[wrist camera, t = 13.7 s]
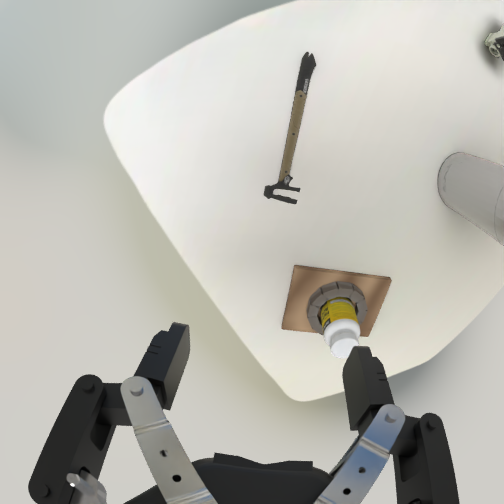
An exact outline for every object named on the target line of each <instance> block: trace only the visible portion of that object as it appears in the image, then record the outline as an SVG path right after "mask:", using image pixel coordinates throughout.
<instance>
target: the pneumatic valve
mask: <svg viewBox="0 0 504 504" xmlns="http://www.w3.org/2000/svg"><path fill="white" fill-rule="evenodd" d="M485 45H486V46H489V51H490V52H491V53H492V54H493V55H494V56H495V57H496V58H497V57H499V56H501V57H502V59H503V60H504V23H503V25H502V27H501V29H500V31H498V32H496V33H490V34H489V36H488V37H487V39H486V41H485Z"/></svg>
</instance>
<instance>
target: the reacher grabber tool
mask: <svg viewBox="0 0 504 504" xmlns="http://www.w3.org/2000/svg"><path fill="white" fill-rule="evenodd" d="M308 54H309V52H306V53H305V55H304V56H303V58H302V62H301V67H300V71H299V75H298V80H297V86H296V91H295V97H294V101H293V107H292V113H291V115H292V116H291V119H290V124H289V129H288V134H287V140H286V145H285V150H284V155H283V160H282V166H281V171H280V176H279V181H278V183H277V184H275V185H273V186H269V185H268V186H265V191H264V196H265V197H267V198H268V199H269V198H274V199H277V200H280V201H284V202H287V203H291V204H296V203H297V200H295V199H291V198H289V197H283V196H281V195H273V191H274V189H285V190H292V191H297V192H299V191H300V188H294V187H290V186H289V182H290V181H291V180H292V179H293V178H292V177H291V176H290V175H289V173H290V168H291V164H292V159H293V158H292V157H293V153H294V150H295V146H296V141H297V137H298V133H299V128H300V124H301V119H302V114H303V109H304V106H305V105H304V104H305V101H306V100H305V99H306V97H307V91H308V87H309V82H310V78H311V75H312V72H313V69H314V67H315V66H316V63H315V59H314V56H313V54H312V53H311V55H310V56H309V57H308Z"/></svg>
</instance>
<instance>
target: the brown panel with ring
mask: <svg viewBox="0 0 504 504" xmlns="http://www.w3.org/2000/svg"><path fill="white" fill-rule="evenodd" d="M391 281H392V280H391V279H390V277H383V276H375V275H367V274H360V273H352V272H344V271H337V270H329V269H321V268H314V267H306V266H299V265H294V270H293V275H292V280H291V285H290V290H289V294H288V299H287V304H286V308H285V313H284V317H283V322H282V329H285V330H293V331H303V332H313V333H319V334H321V335H324V334H323V327H322V320H321V313H320V307H321V306H322V305H323V304H324V303H325V302H326V301H327V300H330V299H333V298H336V297H346V298H350V299H351V301H352V303H353V306H354V310H355V313H356V317H357V320H358V323H359V327H360V336H363V337H368V336H369V334H370V332H371V330H372V327H373V325H374V323H375V321H376V318H377V316H378V314H379V311H380V309H381V306H382V304H383V301H384V299H385V296H386V294H387V291H388V289H389V286H390V283H391Z"/></svg>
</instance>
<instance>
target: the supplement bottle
mask: <svg viewBox="0 0 504 504" xmlns="http://www.w3.org/2000/svg"><path fill="white" fill-rule="evenodd" d="M320 313H321V320H322V327H323V334H324V339H325V342H326V343H327V344H328V345H329V346H330V350H331V353H332V355H333V356H335V357H337V358H347V357H349V354H350V352H351V350H352V348H353V347H354V346H359V342H358V338H359V336H360V327H359V323H358V320H357V317H356V313H355V310H354V306H353V303H352V301H351V299H350V298H346V297H336V298H333V299H330V300H327V301H326V302H325V303H324V304H323V305H322V306H321V307H320Z"/></svg>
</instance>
